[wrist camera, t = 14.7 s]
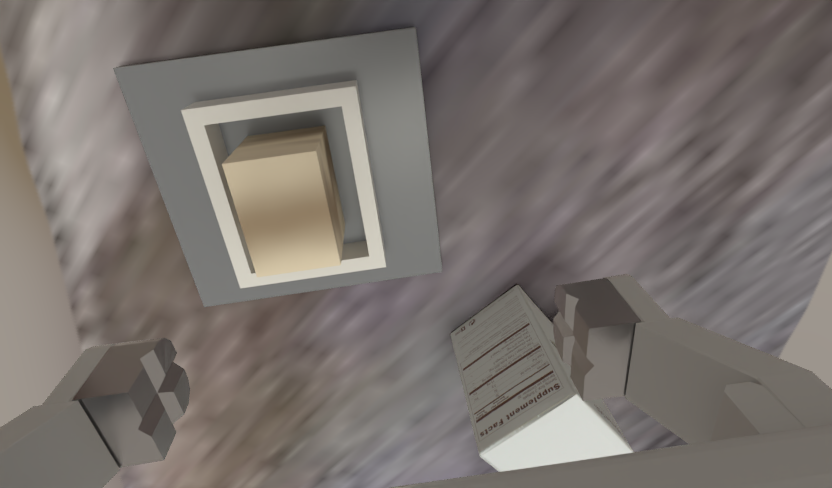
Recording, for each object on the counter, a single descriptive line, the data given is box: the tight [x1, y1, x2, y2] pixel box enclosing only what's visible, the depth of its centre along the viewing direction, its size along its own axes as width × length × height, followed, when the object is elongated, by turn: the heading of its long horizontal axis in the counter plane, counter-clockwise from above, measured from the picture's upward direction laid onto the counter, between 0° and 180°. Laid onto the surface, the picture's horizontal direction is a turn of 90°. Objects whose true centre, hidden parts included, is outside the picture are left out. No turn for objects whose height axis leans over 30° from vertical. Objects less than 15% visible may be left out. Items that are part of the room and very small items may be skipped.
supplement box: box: [450, 285, 634, 472], centre depth 35 cm, size 7×7×13 cm
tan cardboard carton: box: [222, 126, 345, 277], centre depth 30 cm, size 7×5×6 cm
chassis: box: [113, 27, 442, 307], centre depth 32 cm, size 17×18×4 cm
